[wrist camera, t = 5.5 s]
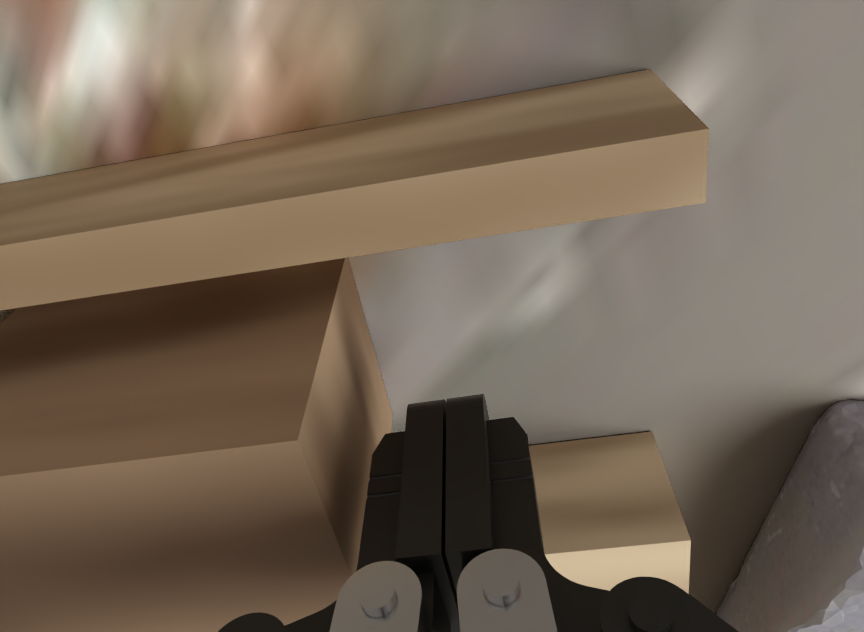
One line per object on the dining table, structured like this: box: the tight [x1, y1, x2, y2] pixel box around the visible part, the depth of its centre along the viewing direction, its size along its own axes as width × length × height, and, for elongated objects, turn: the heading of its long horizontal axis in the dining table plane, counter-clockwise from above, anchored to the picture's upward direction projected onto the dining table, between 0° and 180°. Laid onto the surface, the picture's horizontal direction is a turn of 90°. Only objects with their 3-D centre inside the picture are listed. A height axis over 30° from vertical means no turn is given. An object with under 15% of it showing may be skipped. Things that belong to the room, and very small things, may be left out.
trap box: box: [0, 69, 709, 594], centre depth 18 cm, size 18×23×4 cm
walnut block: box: [0, 257, 393, 632], centre depth 15 cm, size 5×8×6 cm, turn 100°
